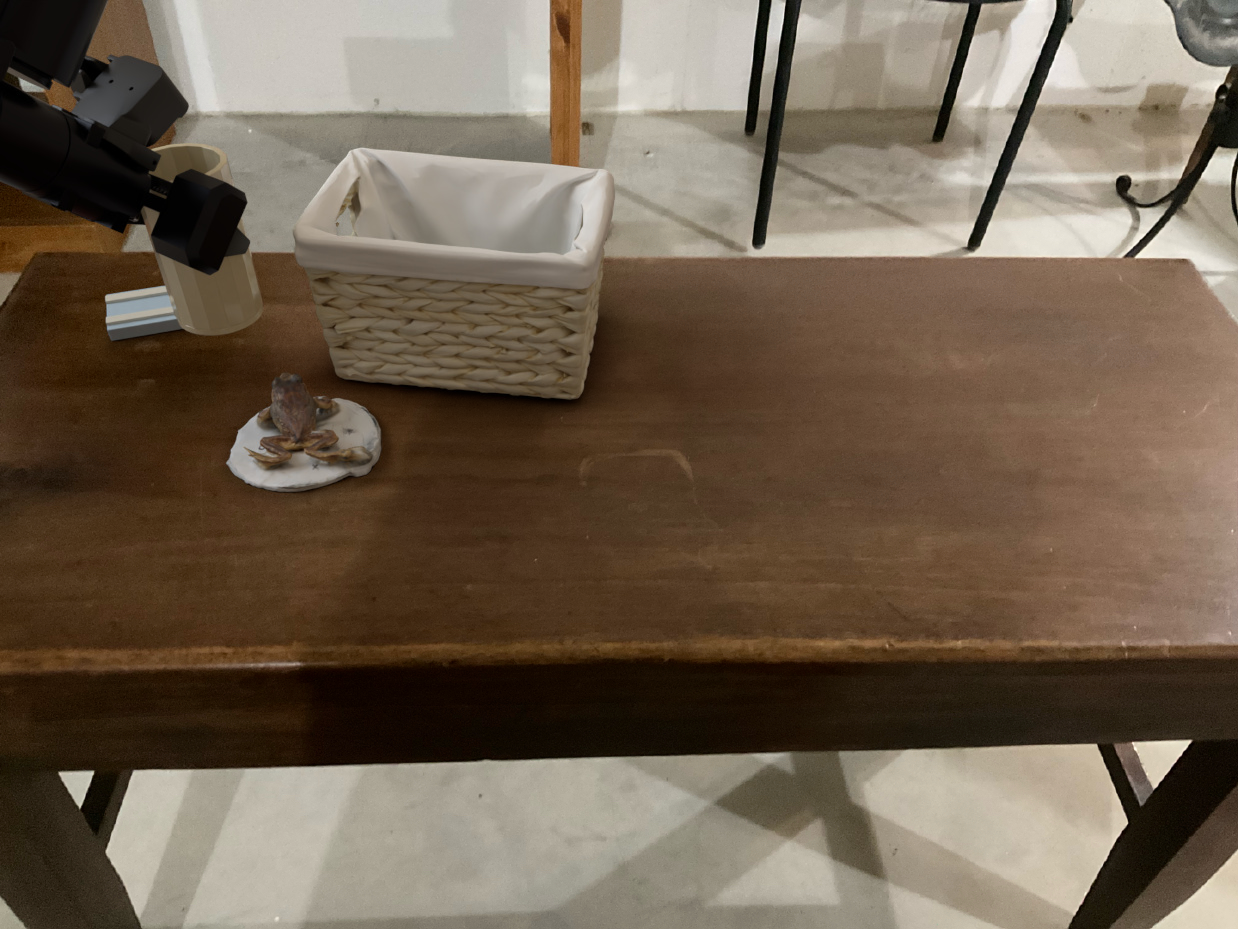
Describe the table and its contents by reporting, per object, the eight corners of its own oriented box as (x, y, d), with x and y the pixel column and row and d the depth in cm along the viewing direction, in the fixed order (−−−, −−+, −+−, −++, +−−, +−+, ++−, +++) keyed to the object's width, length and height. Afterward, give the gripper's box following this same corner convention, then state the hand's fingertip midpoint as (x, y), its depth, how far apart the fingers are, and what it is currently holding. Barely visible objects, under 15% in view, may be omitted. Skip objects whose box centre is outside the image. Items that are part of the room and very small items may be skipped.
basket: (314, 386, 82) (280, 232, 72) (370, 284, 94) (348, 139, 84) (591, 415, 81) (596, 263, 71) (612, 309, 93) (619, 165, 82)
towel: (111, 341, 85) (105, 327, 84) (110, 305, 89) (105, 291, 88) (229, 321, 88) (225, 307, 87) (222, 287, 92) (219, 273, 91)
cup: (222, 344, 76) (177, 191, 67) (158, 321, 78) (107, 169, 69) (281, 304, 80) (246, 155, 71) (219, 282, 82) (178, 135, 74)
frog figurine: (214, 418, 78) (202, 381, 76) (359, 383, 82) (353, 347, 80) (238, 510, 71) (226, 473, 68) (397, 467, 75) (391, 430, 72)
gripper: (188, 65, 57) (343, 171, 72) (-7, -1, 64) (172, 109, 78) (116, 236, 58) (286, 307, 72) (-71, 153, 64) (120, 234, 79)
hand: (214, 233), depth 75 cm, fingers closed on cup, 7 cm apart
